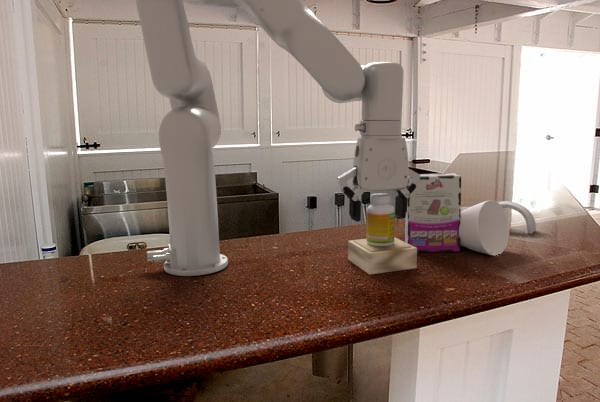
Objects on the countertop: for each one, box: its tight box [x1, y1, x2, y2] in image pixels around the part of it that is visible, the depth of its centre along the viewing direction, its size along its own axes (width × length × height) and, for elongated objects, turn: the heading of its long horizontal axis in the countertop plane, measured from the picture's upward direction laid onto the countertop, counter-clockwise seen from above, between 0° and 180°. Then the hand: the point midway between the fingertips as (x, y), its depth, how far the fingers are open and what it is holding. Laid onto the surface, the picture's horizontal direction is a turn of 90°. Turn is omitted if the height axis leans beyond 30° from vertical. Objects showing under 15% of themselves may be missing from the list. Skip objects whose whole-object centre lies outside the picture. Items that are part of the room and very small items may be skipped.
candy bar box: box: [404, 172, 462, 253], centre depth 104 cm, size 11×5×16 cm, turn 87°
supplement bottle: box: [366, 192, 396, 246], centre depth 94 cm, size 5×5×10 cm
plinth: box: [347, 236, 418, 275], centre depth 96 cm, size 10×10×4 cm
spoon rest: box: [461, 200, 537, 235], centre depth 124 cm, size 24×12×7 cm, turn 53°
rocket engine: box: [459, 199, 510, 257], centre depth 107 cm, size 12×12×18 cm
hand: (378, 218), depth 95 cm, fingers open, 9 cm apart
